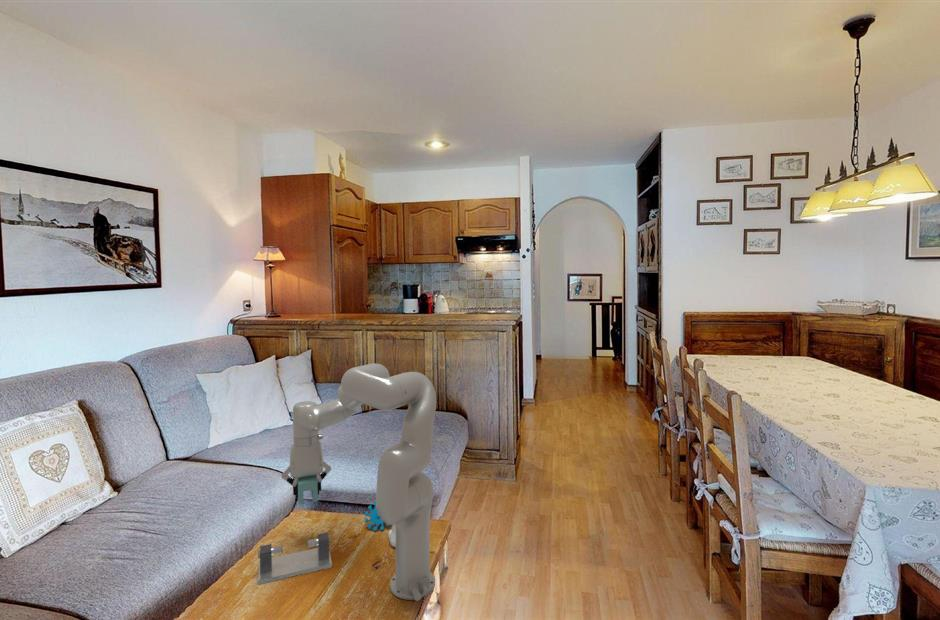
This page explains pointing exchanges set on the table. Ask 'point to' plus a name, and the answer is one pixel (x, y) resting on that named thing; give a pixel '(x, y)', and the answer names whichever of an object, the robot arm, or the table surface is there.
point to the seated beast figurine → (392, 536)
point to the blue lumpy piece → (374, 518)
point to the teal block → (307, 488)
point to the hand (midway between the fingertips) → (307, 494)
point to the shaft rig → (293, 560)
